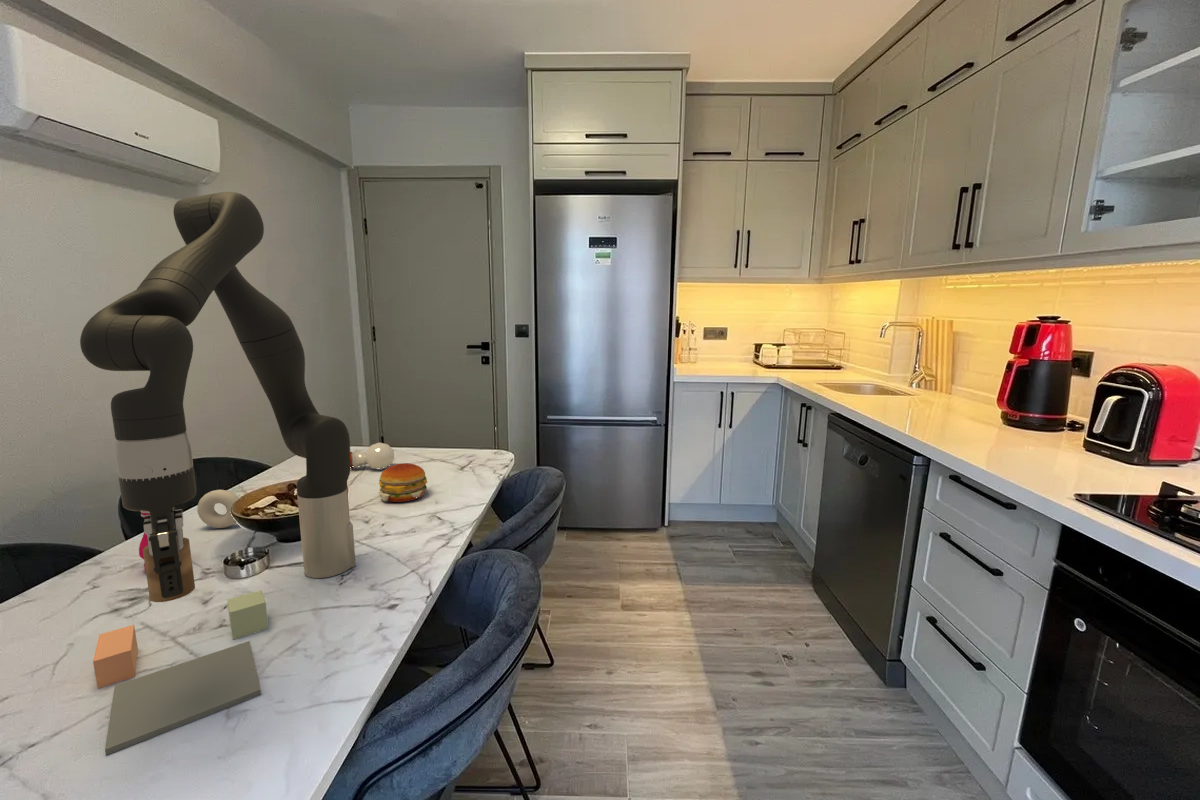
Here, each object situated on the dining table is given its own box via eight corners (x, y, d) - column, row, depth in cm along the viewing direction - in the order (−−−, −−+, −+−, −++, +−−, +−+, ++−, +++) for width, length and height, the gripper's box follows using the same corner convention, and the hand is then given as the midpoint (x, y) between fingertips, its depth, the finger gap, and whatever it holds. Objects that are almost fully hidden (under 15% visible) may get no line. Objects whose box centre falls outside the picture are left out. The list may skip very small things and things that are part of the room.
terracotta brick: (103, 660, 79) (99, 634, 78) (138, 649, 81) (134, 624, 81) (97, 689, 73) (92, 661, 72) (135, 677, 75) (130, 650, 75)
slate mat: (249, 645, 83) (249, 640, 82) (261, 694, 72) (260, 689, 72) (115, 690, 72) (114, 685, 72) (105, 755, 62) (104, 749, 62)
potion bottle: (396, 473, 176) (352, 479, 175) (400, 451, 183) (357, 457, 182) (387, 457, 170) (341, 463, 168) (391, 435, 176) (347, 440, 175)
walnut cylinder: (194, 579, 73) (188, 534, 72) (195, 594, 69) (189, 546, 68) (150, 591, 70) (143, 543, 69) (149, 606, 66) (141, 556, 65)
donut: (196, 531, 125) (191, 493, 123) (205, 525, 128) (200, 488, 126) (240, 529, 126) (236, 491, 125) (248, 524, 130) (243, 486, 128)
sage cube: (264, 615, 91) (261, 589, 90) (268, 628, 87) (265, 602, 86) (230, 626, 88) (227, 599, 87) (233, 640, 84) (229, 612, 83)
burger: (437, 495, 152) (435, 463, 150) (398, 509, 141) (396, 474, 139) (408, 486, 159) (406, 456, 157) (369, 499, 148) (366, 466, 146)
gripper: (194, 476, 64) (210, 600, 67) (191, 451, 75) (205, 559, 77) (112, 488, 59) (133, 621, 62) (122, 460, 70) (139, 574, 73)
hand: (172, 586), depth 70 cm, fingers closed on walnut cylinder, 4 cm apart
